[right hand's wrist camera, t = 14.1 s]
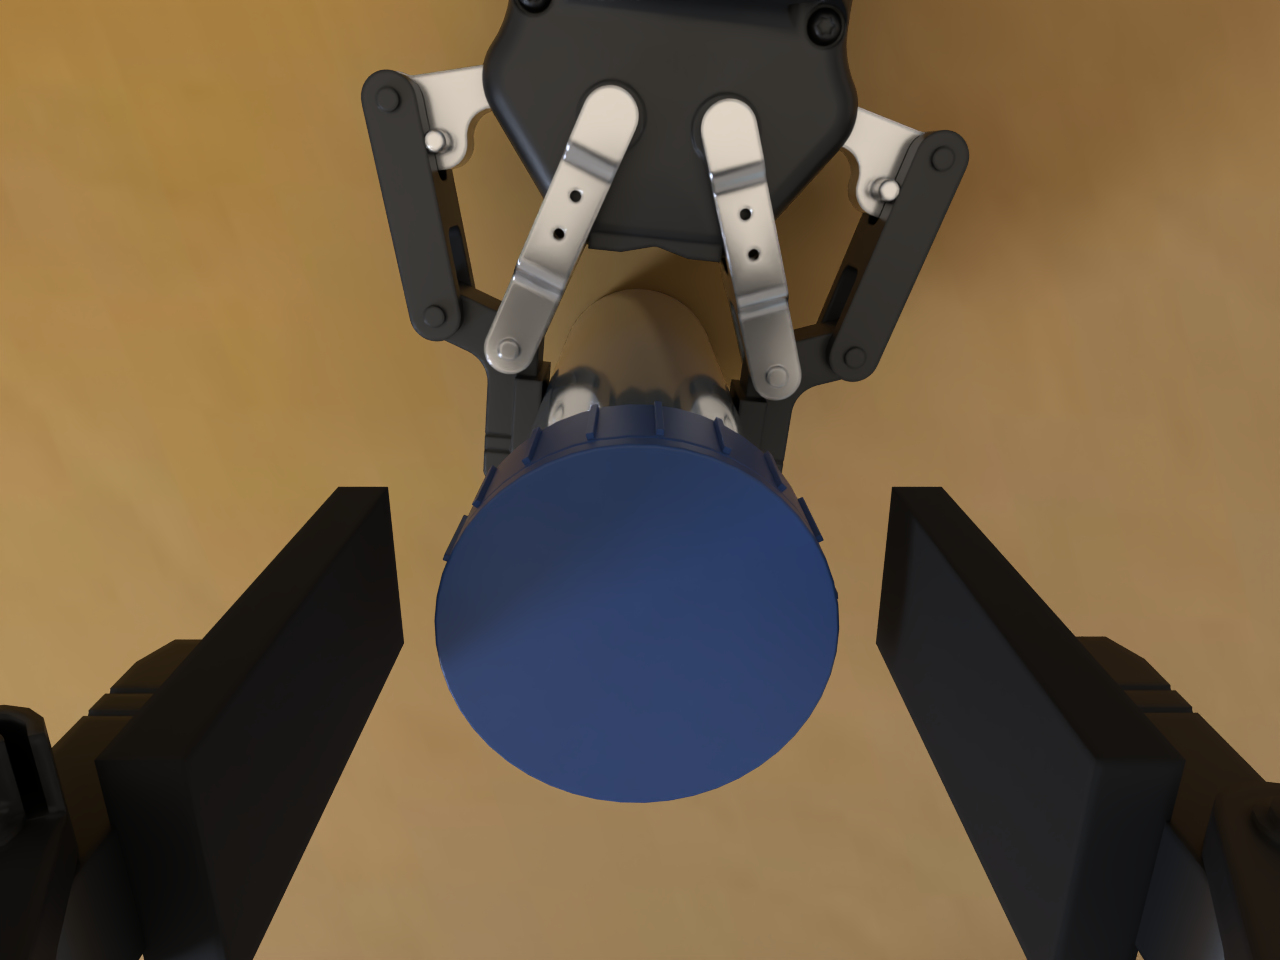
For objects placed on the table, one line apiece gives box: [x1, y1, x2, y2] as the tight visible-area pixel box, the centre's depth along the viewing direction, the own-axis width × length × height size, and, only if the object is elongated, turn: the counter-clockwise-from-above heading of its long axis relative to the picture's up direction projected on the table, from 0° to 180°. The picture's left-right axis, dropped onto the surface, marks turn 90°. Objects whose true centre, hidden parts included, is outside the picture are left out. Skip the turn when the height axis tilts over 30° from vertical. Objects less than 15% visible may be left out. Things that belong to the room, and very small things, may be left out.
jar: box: [527, 289, 749, 441], centre depth 21 cm, size 5×5×17 cm
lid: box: [435, 401, 839, 803], centre depth 14 cm, size 6×6×2 cm
